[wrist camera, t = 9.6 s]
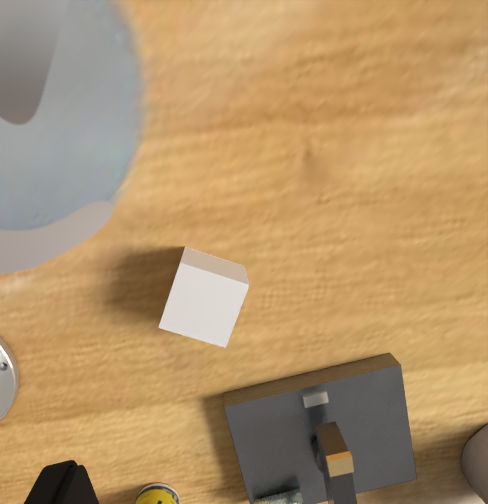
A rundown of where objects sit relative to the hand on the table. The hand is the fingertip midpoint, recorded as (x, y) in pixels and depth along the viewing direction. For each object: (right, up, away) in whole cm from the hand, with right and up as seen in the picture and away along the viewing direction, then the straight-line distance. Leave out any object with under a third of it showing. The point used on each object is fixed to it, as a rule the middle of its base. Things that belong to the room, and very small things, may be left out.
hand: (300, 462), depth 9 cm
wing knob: (+7, -15, +33) cm, 37 cm away
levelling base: (+7, -15, +35) cm, 39 cm away
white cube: (-5, +2, +31) cm, 31 cm away
